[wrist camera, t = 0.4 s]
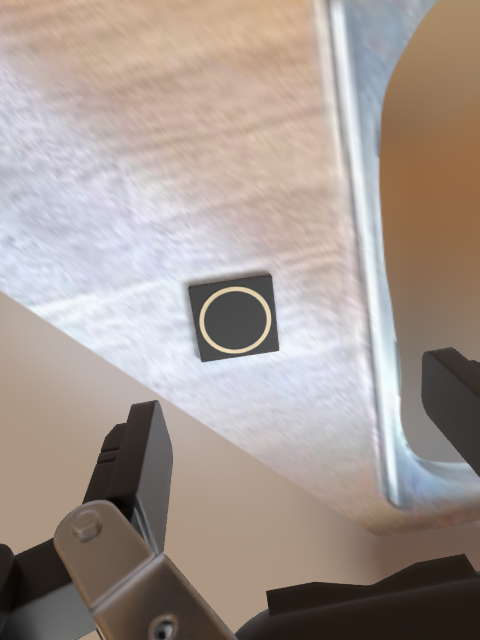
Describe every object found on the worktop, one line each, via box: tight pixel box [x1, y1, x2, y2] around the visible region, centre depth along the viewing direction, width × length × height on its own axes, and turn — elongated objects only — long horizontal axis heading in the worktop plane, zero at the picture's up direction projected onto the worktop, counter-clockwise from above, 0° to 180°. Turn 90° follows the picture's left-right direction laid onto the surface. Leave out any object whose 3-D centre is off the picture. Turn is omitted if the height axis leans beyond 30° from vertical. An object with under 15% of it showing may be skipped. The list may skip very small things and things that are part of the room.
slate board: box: [188, 275, 279, 362], centre depth 38 cm, size 8×8×1 cm
